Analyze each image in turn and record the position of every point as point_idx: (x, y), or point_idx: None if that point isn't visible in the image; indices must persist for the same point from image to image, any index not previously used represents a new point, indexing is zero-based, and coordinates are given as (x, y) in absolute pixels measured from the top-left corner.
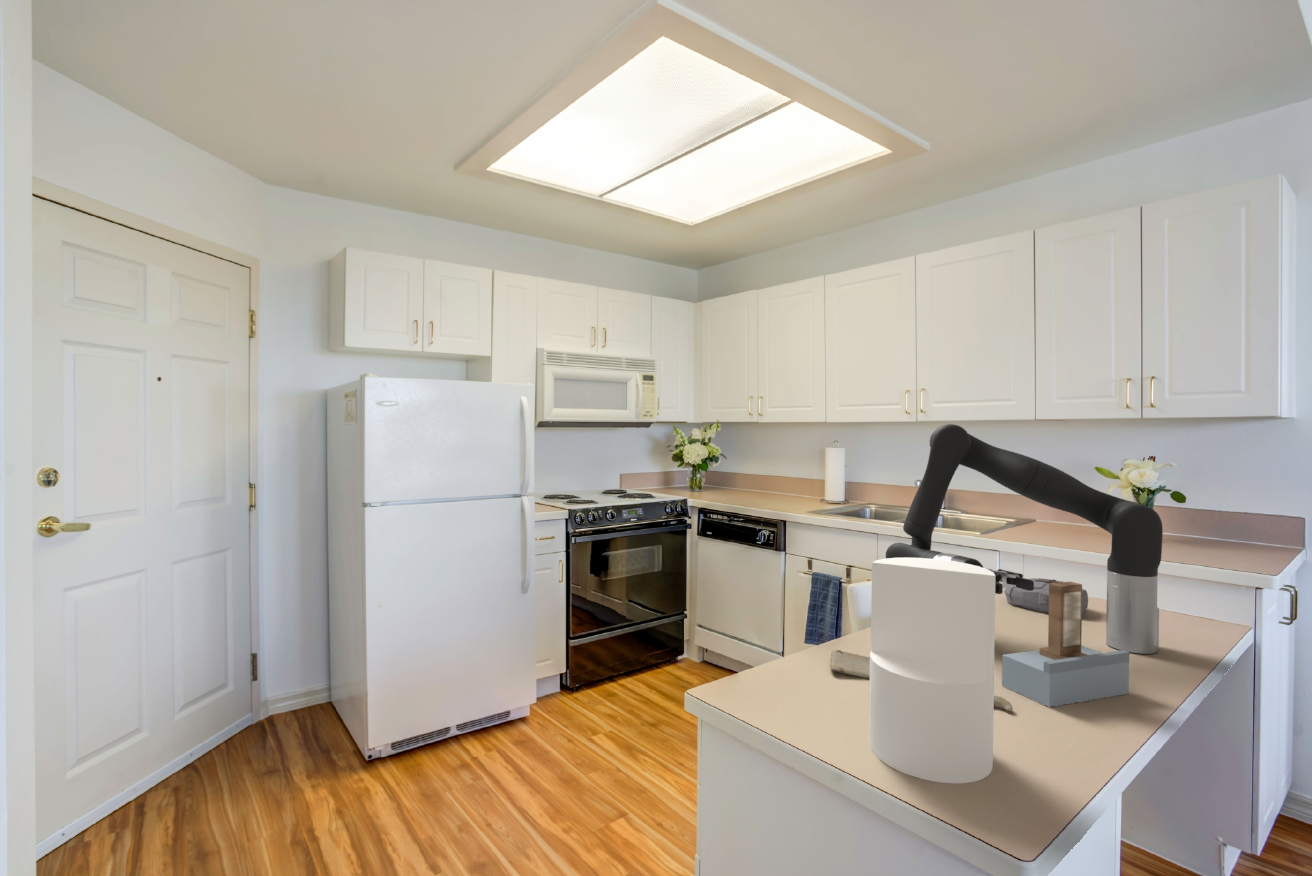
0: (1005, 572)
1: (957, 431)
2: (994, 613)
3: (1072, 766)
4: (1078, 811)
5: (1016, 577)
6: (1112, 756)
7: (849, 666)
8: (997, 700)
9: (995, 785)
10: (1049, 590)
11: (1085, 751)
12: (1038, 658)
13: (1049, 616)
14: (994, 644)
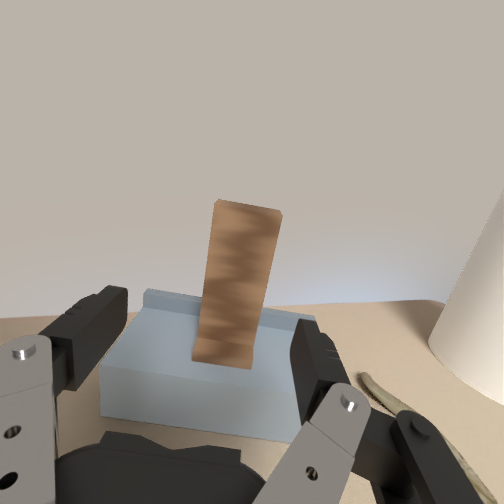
0: (24, 390)
1: None
2: (490, 215)
3: (361, 315)
4: (388, 301)
5: (75, 338)
6: (318, 309)
7: None
8: (378, 385)
9: (434, 326)
10: (278, 231)
11: (334, 318)
12: (274, 360)
13: (266, 284)
14: (476, 243)
